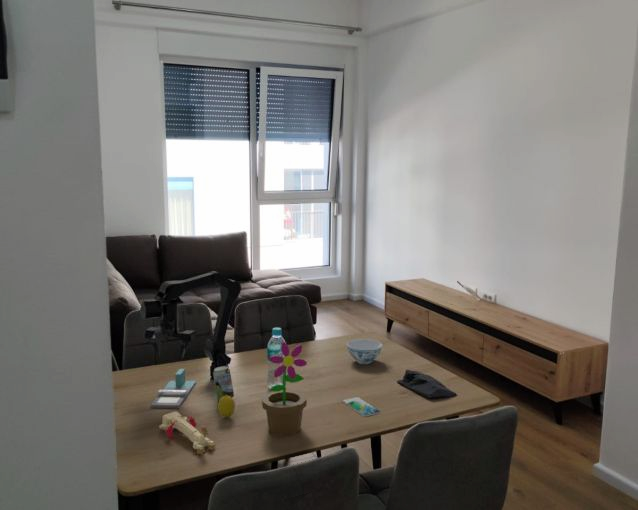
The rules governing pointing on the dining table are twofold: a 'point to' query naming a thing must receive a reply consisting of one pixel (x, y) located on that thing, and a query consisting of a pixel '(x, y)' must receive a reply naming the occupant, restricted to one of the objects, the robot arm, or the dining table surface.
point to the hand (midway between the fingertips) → (170, 356)
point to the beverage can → (223, 382)
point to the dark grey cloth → (425, 385)
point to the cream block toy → (187, 430)
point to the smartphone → (361, 406)
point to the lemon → (226, 406)
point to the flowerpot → (285, 395)
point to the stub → (181, 381)
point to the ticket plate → (170, 397)
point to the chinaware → (364, 350)
